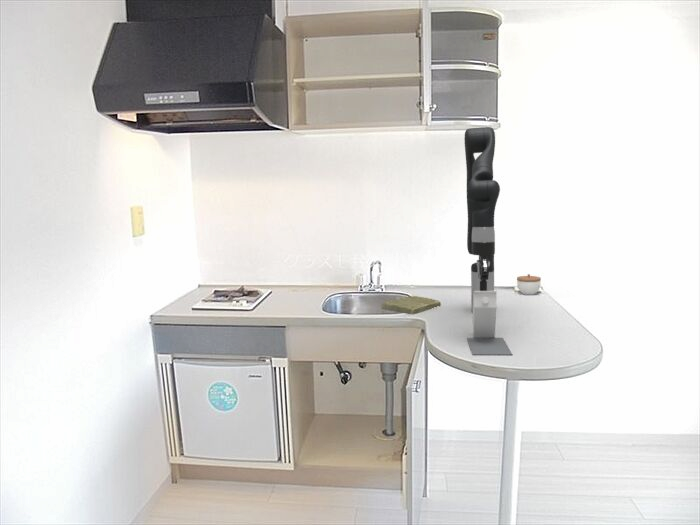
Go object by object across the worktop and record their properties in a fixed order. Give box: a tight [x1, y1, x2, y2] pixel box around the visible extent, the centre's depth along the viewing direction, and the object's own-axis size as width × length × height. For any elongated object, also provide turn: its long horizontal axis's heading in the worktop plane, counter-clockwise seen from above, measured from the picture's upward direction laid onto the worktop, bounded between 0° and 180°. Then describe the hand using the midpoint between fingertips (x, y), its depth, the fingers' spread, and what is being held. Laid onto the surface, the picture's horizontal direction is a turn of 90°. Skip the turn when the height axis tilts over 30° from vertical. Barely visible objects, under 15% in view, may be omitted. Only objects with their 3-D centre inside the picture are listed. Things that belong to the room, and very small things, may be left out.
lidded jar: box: [516, 273, 541, 296], centre depth 245 cm, size 11×11×9 cm
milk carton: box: [472, 290, 498, 338], centre depth 174 cm, size 7×7×19 cm
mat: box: [466, 337, 513, 356], centre depth 167 cm, size 18×12×1 cm, turn 173°
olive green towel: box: [381, 295, 442, 315], centre depth 227 cm, size 19×20×4 cm
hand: (483, 291), depth 173 cm, fingers closed
